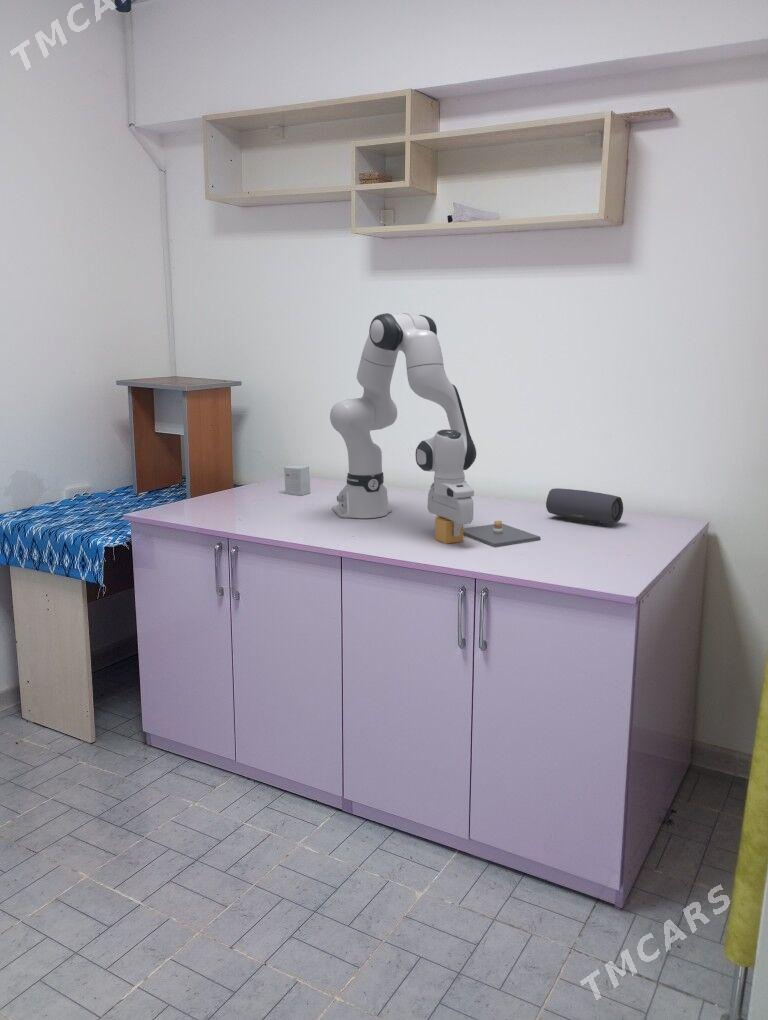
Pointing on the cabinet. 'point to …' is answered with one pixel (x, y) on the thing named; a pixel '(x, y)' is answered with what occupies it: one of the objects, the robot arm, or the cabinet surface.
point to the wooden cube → (446, 531)
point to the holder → (499, 534)
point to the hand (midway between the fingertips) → (449, 533)
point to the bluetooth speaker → (584, 506)
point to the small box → (297, 480)
